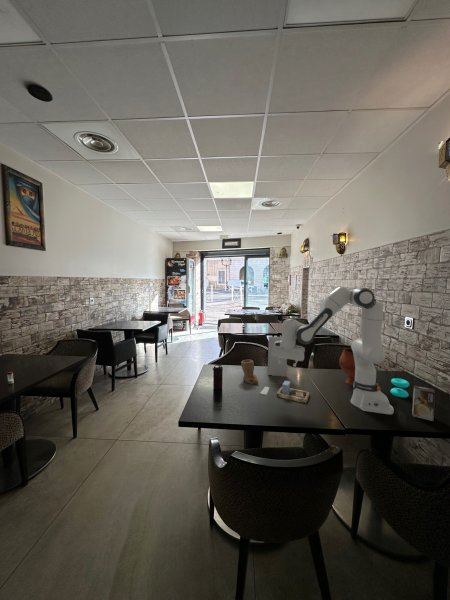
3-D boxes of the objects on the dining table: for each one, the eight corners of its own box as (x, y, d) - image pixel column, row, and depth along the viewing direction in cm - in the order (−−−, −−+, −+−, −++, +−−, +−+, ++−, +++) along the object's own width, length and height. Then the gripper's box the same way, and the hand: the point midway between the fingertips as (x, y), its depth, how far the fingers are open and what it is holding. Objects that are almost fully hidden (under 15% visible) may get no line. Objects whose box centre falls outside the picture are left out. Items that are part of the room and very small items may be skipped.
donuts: (410, 380, 168) (407, 384, 161) (409, 395, 169) (406, 400, 162) (393, 376, 175) (389, 380, 168) (392, 390, 176) (388, 394, 169)
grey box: (285, 373, 203) (286, 337, 201) (286, 376, 198) (287, 338, 195) (267, 372, 204) (268, 336, 202) (267, 375, 199) (269, 337, 197)
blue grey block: (289, 394, 165) (290, 381, 165) (287, 399, 159) (288, 385, 158) (284, 393, 167) (285, 380, 166) (281, 398, 160) (282, 384, 160)
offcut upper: (302, 395, 161) (303, 392, 161) (303, 399, 155) (303, 396, 155) (295, 394, 162) (295, 391, 162) (295, 398, 156) (295, 395, 156)
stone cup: (240, 376, 195) (240, 357, 194) (255, 376, 196) (256, 357, 195) (241, 384, 180) (242, 363, 179) (258, 384, 181) (259, 364, 179)
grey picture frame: (432, 416, 142) (434, 388, 141) (433, 421, 136) (435, 393, 135) (411, 411, 147) (413, 384, 146) (412, 416, 142) (414, 388, 140)
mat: (278, 390, 172) (278, 389, 172) (273, 397, 161) (273, 396, 161) (265, 387, 176) (265, 386, 176) (259, 393, 165) (259, 393, 165)
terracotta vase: (371, 390, 176) (373, 355, 174) (342, 387, 179) (344, 353, 177) (361, 379, 194) (363, 347, 193) (335, 377, 198) (337, 346, 196)
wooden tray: (309, 397, 162) (309, 392, 162) (306, 405, 151) (306, 399, 151) (281, 391, 170) (281, 386, 170) (276, 398, 159) (276, 393, 159)
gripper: (305, 345, 159) (304, 366, 160) (273, 340, 168) (272, 361, 169) (304, 347, 153) (302, 369, 154) (271, 342, 162) (270, 363, 163)
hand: (286, 365), depth 161 cm, fingers open, 8 cm apart
